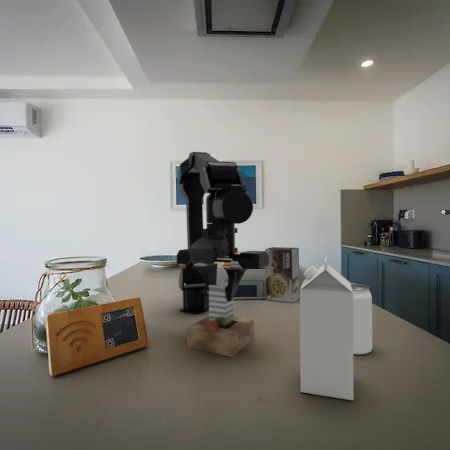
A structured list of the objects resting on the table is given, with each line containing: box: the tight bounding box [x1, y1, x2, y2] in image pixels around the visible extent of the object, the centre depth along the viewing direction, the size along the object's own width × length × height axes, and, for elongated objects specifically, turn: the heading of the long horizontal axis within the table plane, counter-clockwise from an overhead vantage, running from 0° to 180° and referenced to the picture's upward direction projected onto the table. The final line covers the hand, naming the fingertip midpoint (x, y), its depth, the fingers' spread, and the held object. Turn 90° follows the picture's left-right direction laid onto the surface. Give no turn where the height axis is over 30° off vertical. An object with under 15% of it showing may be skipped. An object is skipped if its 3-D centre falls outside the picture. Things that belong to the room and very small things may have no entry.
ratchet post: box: [208, 281, 235, 327], centre depth 64 cm, size 4×4×8 cm
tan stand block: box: [186, 315, 255, 358], centre depth 64 cm, size 10×10×5 cm
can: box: [350, 283, 373, 356], centre depth 60 cm, size 6×6×12 cm
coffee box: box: [264, 246, 300, 304], centre depth 98 cm, size 9×6×16 cm
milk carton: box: [299, 256, 355, 401], centre depth 47 cm, size 7×7×19 cm
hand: (221, 299), depth 64 cm, fingers closed on ratchet post, 4 cm apart
